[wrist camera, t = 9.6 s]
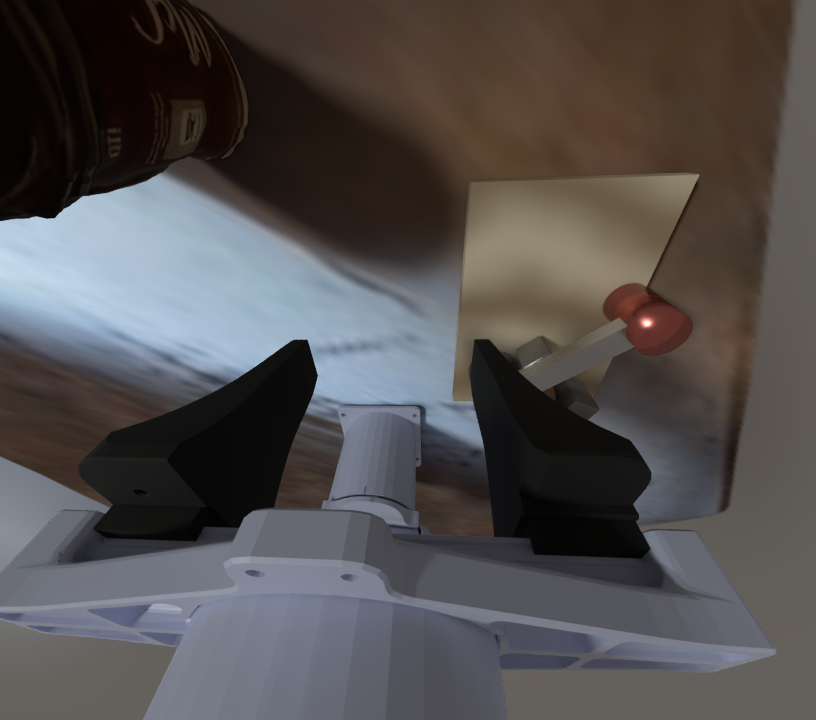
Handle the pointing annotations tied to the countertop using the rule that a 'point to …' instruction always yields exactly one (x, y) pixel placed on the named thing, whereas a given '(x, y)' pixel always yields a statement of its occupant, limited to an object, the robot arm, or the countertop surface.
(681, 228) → the countertop surface
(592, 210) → the cracker base
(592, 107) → the countertop surface
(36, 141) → the coffee cup
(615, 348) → the lever
